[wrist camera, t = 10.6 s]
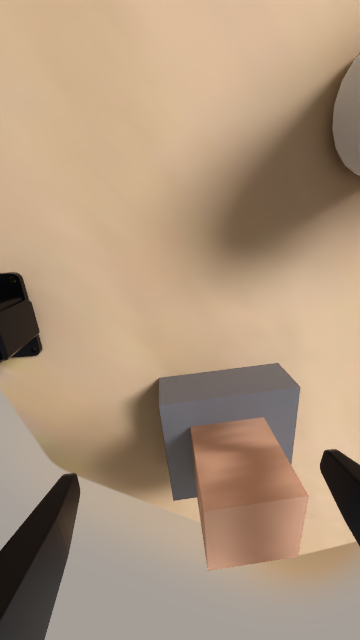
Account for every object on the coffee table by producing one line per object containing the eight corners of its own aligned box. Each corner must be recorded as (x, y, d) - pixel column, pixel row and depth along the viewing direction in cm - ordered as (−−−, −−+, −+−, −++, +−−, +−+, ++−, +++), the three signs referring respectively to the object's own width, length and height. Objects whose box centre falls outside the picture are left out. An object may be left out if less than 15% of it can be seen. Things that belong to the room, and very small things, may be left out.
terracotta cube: (194, 478, 20) (207, 570, 15) (190, 426, 18) (203, 511, 13) (260, 469, 21) (298, 556, 15) (263, 417, 19) (308, 496, 13)
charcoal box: (171, 460, 25) (173, 500, 21) (159, 375, 21) (158, 405, 17) (270, 446, 25) (289, 483, 22) (275, 360, 22) (300, 387, 18)
